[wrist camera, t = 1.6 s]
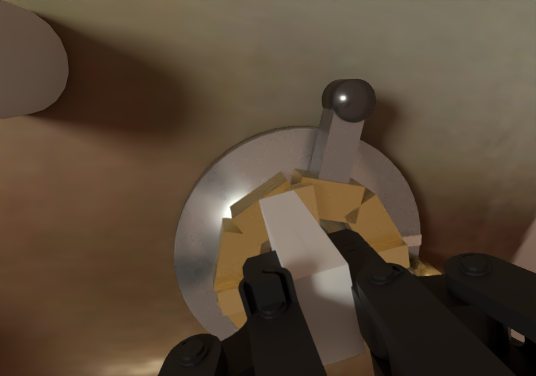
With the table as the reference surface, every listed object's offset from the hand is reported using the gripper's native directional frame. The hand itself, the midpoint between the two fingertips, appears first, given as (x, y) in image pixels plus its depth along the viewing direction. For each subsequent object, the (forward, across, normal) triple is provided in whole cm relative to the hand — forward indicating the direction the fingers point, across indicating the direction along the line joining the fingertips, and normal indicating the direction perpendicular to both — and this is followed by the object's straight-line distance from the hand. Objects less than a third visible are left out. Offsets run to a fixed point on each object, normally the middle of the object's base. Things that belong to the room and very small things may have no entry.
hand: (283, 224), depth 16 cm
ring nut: (+15, +4, -6) cm, 16 cm away
